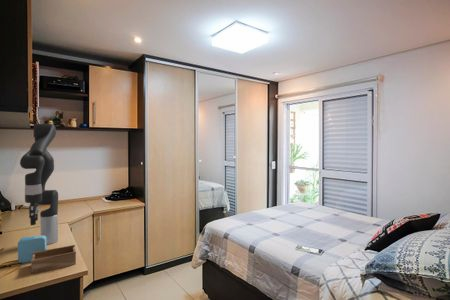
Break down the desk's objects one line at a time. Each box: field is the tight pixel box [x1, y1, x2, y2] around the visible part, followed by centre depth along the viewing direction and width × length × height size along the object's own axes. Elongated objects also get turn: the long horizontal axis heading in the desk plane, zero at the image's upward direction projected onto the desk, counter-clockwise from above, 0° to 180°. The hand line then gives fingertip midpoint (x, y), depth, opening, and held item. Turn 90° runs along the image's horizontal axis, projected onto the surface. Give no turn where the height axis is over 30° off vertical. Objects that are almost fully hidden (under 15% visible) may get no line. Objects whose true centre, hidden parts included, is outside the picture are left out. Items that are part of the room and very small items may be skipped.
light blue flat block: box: [17, 235, 48, 264], centre depth 143 cm, size 12×4×12 cm, turn 115°
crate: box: [30, 244, 77, 274], centre depth 137 cm, size 12×19×6 cm, turn 122°
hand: (34, 222), depth 142 cm, fingers open, 8 cm apart
